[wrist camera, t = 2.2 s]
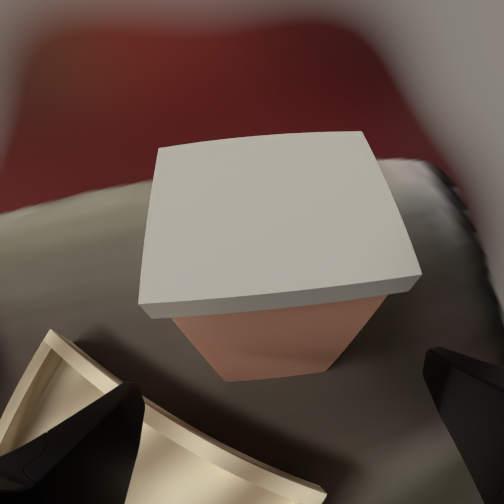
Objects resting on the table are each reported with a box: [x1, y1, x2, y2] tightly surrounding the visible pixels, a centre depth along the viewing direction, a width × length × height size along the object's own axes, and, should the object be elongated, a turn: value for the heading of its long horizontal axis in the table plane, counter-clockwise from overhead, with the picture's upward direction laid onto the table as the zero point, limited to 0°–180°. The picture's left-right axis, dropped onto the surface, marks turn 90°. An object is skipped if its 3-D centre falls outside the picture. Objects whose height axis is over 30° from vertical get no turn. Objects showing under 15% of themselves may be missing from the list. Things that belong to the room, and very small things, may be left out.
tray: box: [0, 329, 327, 504], centre depth 14 cm, size 20×13×3 cm, turn 63°
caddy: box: [138, 131, 422, 382], centre depth 15 cm, size 6×7×14 cm
